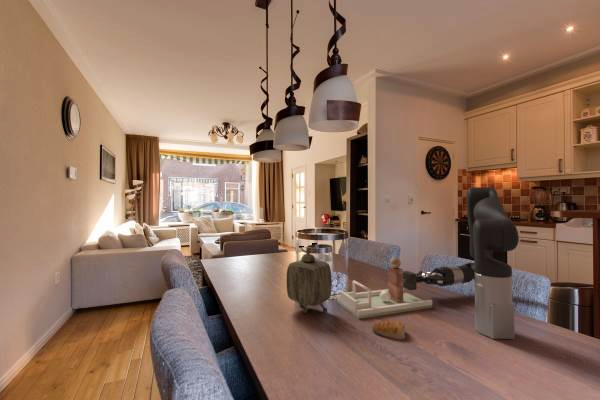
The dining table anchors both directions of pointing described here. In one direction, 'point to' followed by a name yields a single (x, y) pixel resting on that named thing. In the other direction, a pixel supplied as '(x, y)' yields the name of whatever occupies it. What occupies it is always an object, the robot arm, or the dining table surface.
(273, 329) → the dining table surface
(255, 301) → the dining table surface
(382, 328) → the pastry
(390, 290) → the striker
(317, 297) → the tabletop clock
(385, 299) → the ball
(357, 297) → the pitch
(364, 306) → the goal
